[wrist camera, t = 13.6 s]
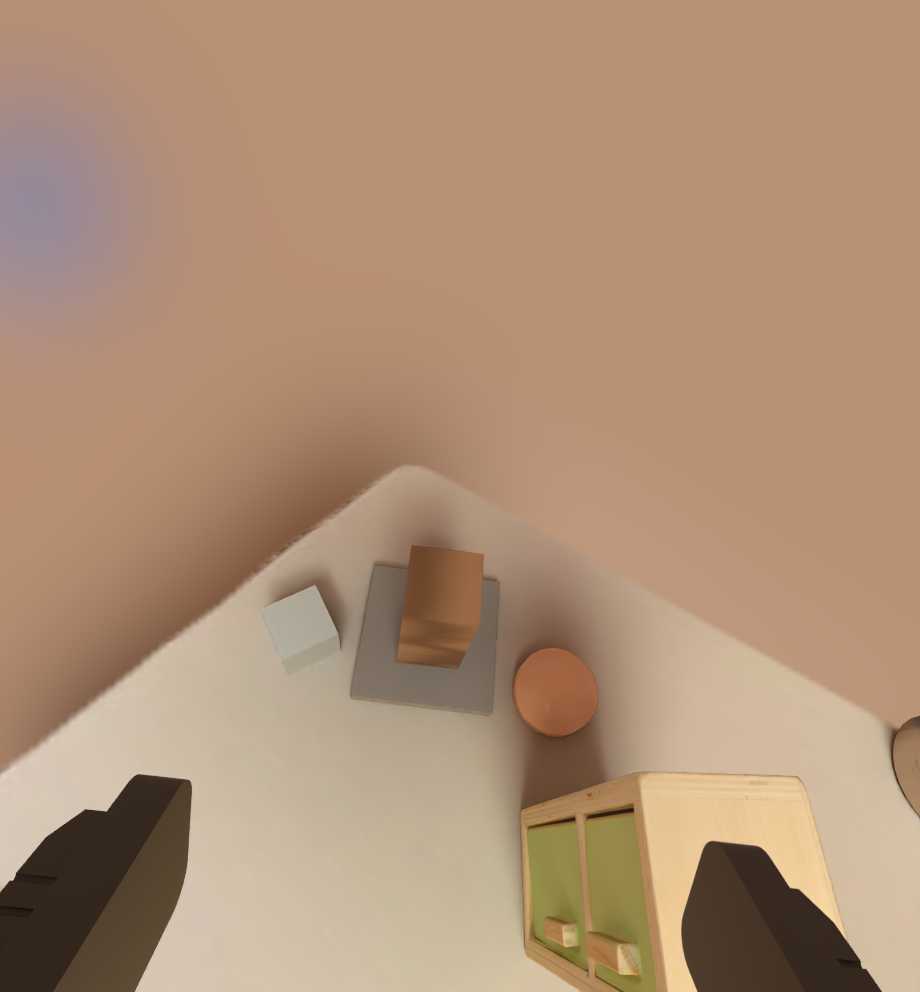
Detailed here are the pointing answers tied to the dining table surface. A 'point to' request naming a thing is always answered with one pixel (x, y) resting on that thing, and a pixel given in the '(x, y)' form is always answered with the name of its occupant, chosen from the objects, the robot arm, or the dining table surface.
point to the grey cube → (301, 629)
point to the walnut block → (440, 607)
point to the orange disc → (555, 692)
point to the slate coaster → (418, 682)
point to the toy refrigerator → (650, 869)
